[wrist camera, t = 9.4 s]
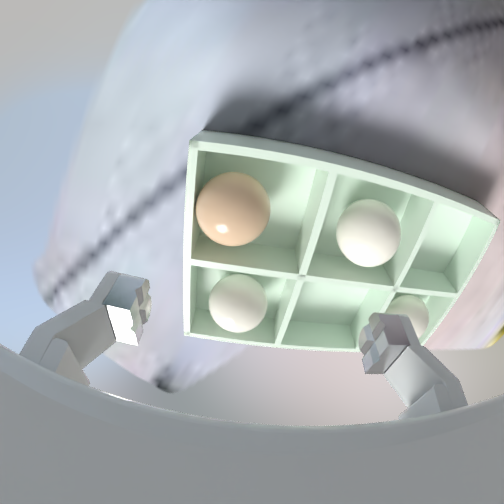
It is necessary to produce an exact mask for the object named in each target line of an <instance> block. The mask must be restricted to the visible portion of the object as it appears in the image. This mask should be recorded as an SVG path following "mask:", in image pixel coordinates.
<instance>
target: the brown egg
mask: <svg viewBox="0 0 504 504" xmlns="http://www.w3.org/2000/svg"><path fill="white" fill-rule="evenodd" d="M270 213H271V206H270V199H269V196H268V194H267V192H266V190H265V188H264V187H263V186H262V185H261V183H260V182H259V181H257V180H256V179H255V178H253V177H252V176H250V175H248V174H245V173H241V172H226V173H222V174H219V175H217V176H215V177H213V178H212V179H210V180H209V181H208V182H207V183H206V184H205V185H204V186H203V188H202V189H201V191H200V193H199V195H198V198H197V202H196V217H197V221H198V224H199V226H200V228H201V229H202V231H203V232H204V233H205V234H206V235H207V236H208V237H209V238H210V239H211V240H213V241H214V242H216V243H219V244H221V245H225V246H241V245H245V244H247V243H250V242H251V241H253V240H255V239H256V238H257V237H258V236H259V235H260V234H261V233H262V232H263V231H264V229H265V228H266V226H267V224H268V221H269V218H270Z"/></svg>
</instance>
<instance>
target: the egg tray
mask: <svg viewBox="0 0 504 504" xmlns="http://www.w3.org/2000/svg"><path fill="white" fill-rule="evenodd" d="M226 172H241V173H245V174H248V175H250V176H252V177H253V178H255V179H256V180H257V181H259V182H260V183H261V185H262V186H263V187H264V188H265V190H266V192H267V194H268V196H269V199H270V206H271V213H270V218H269V221H268V224H267V226H266V228H265V229H264V231H263V232H262V233H261V234H260V235H259V236H258V237H257V238H256V239H255V240H253V241H251V242H250V243H247V244H245V245H241V246H225V245H221V244H219V243H216V242H214V241H213V240H211V239H210V238H209V237H208V236H207V235H206V234H205V233H204V232H203V231H202V229H201V228H200V226H199V224H198V221H197V217H196V202H197V198H198V195H199V193H200V191H201V189H202V188H203V186H204V185H205V184H206V183H207V182H208V181H209V180H210V179H212V178H213V177H215V176H217V175H219V174H222V173H226ZM362 199H374V200H378V201H381V202H383V203H385V204H386V205H388V206H389V207H390V208H391V209H392V210H393V211H394V213H395V214H396V215H397V217H398V220H399V222H400V226H401V241H400V245H399V247H398V249H397V251H396V253H395V254H394V255H393V257H392V258H391V259H390V260H388V261H387V262H385V263H384V264H382V265H379V266H375V267H363V266H359V265H357V264H355V263H353V262H351V261H350V260H349V259H347V258H346V257H345V255H344V254H343V253H342V251H341V250H340V248H339V246H338V242H337V238H336V227H337V222H338V220H339V217H340V215H341V214H342V212H343V211H344V210H345V209H346V208H347V207H348V206H349V205H350V204H352V203H354V202H356V201H358V200H362ZM499 223H500V220H499V219H498V218H497V217H496V216H495V215H493V214H492V213H491V212H490V211H489V210H487V209H486V208H485V207H484V206H483V205H481V204H480V203H479V202H478V201H476V200H473V199H471V198H469V197H467V196H464V195H462V194H460V193H457V192H455V191H452V190H450V189H447V188H445V187H442V186H440V185H437V184H435V183H432V182H429V181H427V180H424V179H421V178H418V177H416V176H413V175H410V174H407V173H404V172H401V171H398V170H395V169H392V168H388V167H385V166H382V165H379V164H375V163H372V162H369V161H365V160H361V159H358V158H354V157H350V156H347V155H343V154H339V153H335V152H331V151H327V150H322V149H318V148H313V147H309V146H304V145H299V144H294V143H289V142H284V141H279V140H273V139H267V138H261V137H255V136H248V135H241V134H234V133H226V132H218V131H209V130H202V131H201V132H199V133H198V134H197V135H196V136H194V137H193V138H192V139H191V140H189V152H188V164H187V178H186V195H185V215H184V248H183V310H184V335H186V336H192V337H198V338H204V339H210V340H217V341H224V342H232V343H240V344H248V345H257V346H266V347H276V348H288V349H301V350H317V351H339V352H361V351H360V349H359V335H360V332H361V330H362V329H363V327H364V326H366V325H367V324H369V320H368V319H369V317H370V316H371V314H373V313H374V312H378V313H385V311H386V309H387V307H388V305H389V304H390V303H391V302H392V301H393V300H394V299H395V298H397V297H399V296H402V295H414V296H417V297H419V298H420V299H421V300H422V301H423V302H424V303H425V304H426V306H427V308H428V311H429V323H428V326H427V329H426V331H425V332H424V334H423V335H422V336H421V337H420V338H419V342H420V344H421V346H423V345H424V344H425V343H426V341H427V340H428V339H429V338H430V336H431V335H432V334H433V332H434V331H435V330H436V328H437V327H438V326H439V324H440V323H441V322H442V320H443V319H444V318H445V316H446V315H447V313H448V312H449V311H450V309H451V308H452V306H453V305H454V303H455V302H456V300H457V299H458V297H459V296H460V294H461V293H462V291H463V290H464V288H465V286H466V285H467V283H468V282H469V280H470V278H471V277H472V275H473V273H474V272H475V270H476V268H477V266H478V265H479V263H480V261H481V259H482V257H483V255H484V254H485V252H486V250H487V248H488V246H489V244H490V242H491V240H492V238H493V236H494V234H495V232H496V230H497V227H498V225H499ZM232 274H244V275H248V276H250V277H252V278H254V279H255V280H257V281H258V282H259V283H260V284H261V285H262V287H263V288H264V290H265V292H266V295H267V300H268V307H267V312H266V315H265V317H264V319H263V320H262V321H261V323H260V324H259V325H258V326H256V327H255V328H253V329H252V330H249V331H247V332H241V333H235V332H230V331H227V330H225V329H223V328H222V327H220V326H219V325H218V324H217V323H216V322H215V321H214V319H213V318H212V316H211V314H210V310H209V296H210V293H211V290H212V289H213V287H214V286H215V284H216V283H217V282H218V281H219V280H221V279H222V278H224V277H226V276H229V275H232Z"/></svg>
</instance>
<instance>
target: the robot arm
mask: <svg viewBox="0 0 504 504" xmlns="http://www.w3.org/2000/svg"><path fill="white" fill-rule="evenodd" d="M149 288H150V286H149V280H147V279H144V278H140V277H136V276H131V275H127V274H123V273H122V274H121V273H117V272H113V271H109V272H107V273H106V275H105V276H104V278H103V279H102V281H101V282H100V284H99V285H98V287H97V288H96V290H95V291H94V293H93V294H92V296H91V298H90V299H89V301H87V300H84V301H82V302H80V303H79V304H77V305H75V306H73V307H71V308H69V309H68V310H66V311H64V312H62V313H60V314H59V315H57V316H55V317H53V318H51V319H50V320H48V321H46V322H44V323H42V324H41V325H39V326H37V327H36V328H35V329H34V330H33V332H32V334H31V335H30V337H29V339H28V340H27V342H26V344H25V345H24V347H23V349H22V351H21V352H20V354H17V353H15V352H13V351H11V350H10V349H8V348H7V347H5V346H3V345H1V344H0V504H504V394H501V395H498V396H496V397H493V398H490V399H487V400H484V401H481V402H478V403H474V404H471V405H468V404H467V401H466V398H465V395H464V392H463V389H462V386H461V384H460V381H459V380H458V379H457V378H456V377H455V376H454V375H453V374H452V373H451V372H450V371H449V370H448V369H447V368H446V367H445V366H444V365H443V364H442V363H441V362H440V361H439V360H438V359H437V358H436V357H435V356H434V355H433V354H432V353H431V352H430V351H429V350H428V349H427V348H426V347H424V346H421V344H420V342H419V339H418V337H417V335H416V332H415V330H414V327H413V325H412V323H411V320H410V318H409V317H408V316H407V315H406V314H390V313H378V312H374V313H373V314H371V316H370V317H369V319H368V320H369V324H367V325H366V326H364V327H363V329H362V330H361V332H360V335H359V349H360V351H361V352H362V353H363V354H364V357H363V359H362V362H363V365H364V370H365V374H384V377H385V378H386V379H387V381H388V382H389V383H390V385H391V386H392V387H393V389H394V390H395V392H396V393H397V394H398V396H399V397H400V398H401V399H402V401H403V402H404V404H405V405H406V406H407V409H406V410H405V411H404V412H402V413H401V414H400V415H399V420H394V421H387V422H378V423H369V424H355V425H340V426H339V425H338V426H288V425H269V424H268V425H267V424H256V423H245V422H236V421H229V420H220V419H214V418H208V417H202V416H196V415H191V414H185V413H181V412H176V411H171V410H167V409H163V408H159V407H154V406H151V405H147V404H143V403H139V402H136V401H132V400H129V399H125V398H122V397H119V396H116V395H113V394H110V393H107V392H104V391H101V390H98V389H95V388H93V387H90V386H89V384H90V382H89V379H88V378H87V376H86V375H85V373H84V372H83V370H82V369H83V368H84V367H85V366H87V365H88V364H89V363H90V362H92V361H93V360H94V359H95V358H97V357H98V356H99V355H100V354H102V353H103V352H104V351H105V350H107V349H108V348H109V347H110V346H111V345H113V344H114V343H115V342H116V340H117V341H121V342H125V343H129V344H133V345H138V343H139V341H140V338H141V336H142V333H143V327H142V325H143V324H145V323H146V322H147V321H148V318H149V316H150V311H151V297H150V295H149V294H148V291H149Z"/></svg>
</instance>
